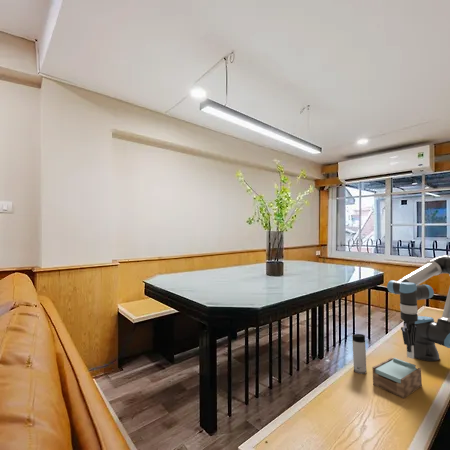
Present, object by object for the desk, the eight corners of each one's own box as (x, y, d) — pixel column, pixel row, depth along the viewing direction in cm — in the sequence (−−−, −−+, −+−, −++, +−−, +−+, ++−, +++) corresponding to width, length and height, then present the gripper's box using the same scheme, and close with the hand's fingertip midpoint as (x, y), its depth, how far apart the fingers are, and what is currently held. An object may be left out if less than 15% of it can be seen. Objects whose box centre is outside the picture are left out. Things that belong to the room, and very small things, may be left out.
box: (391, 373, 145) (391, 357, 145) (421, 385, 133) (420, 368, 134) (373, 384, 136) (372, 367, 136) (403, 398, 124) (402, 379, 124)
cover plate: (393, 363, 144) (392, 356, 144) (418, 372, 134) (417, 365, 134) (375, 373, 135) (375, 365, 135) (400, 383, 125) (400, 376, 125)
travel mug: (360, 375, 145) (358, 337, 145) (351, 369, 151) (349, 333, 152) (369, 373, 146) (368, 335, 147) (360, 367, 153) (359, 331, 153)
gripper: (407, 308, 150) (408, 352, 149) (394, 312, 143) (396, 358, 142) (422, 311, 144) (424, 357, 143) (410, 316, 137) (412, 363, 136)
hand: (410, 357), depth 143 cm, fingers closed
